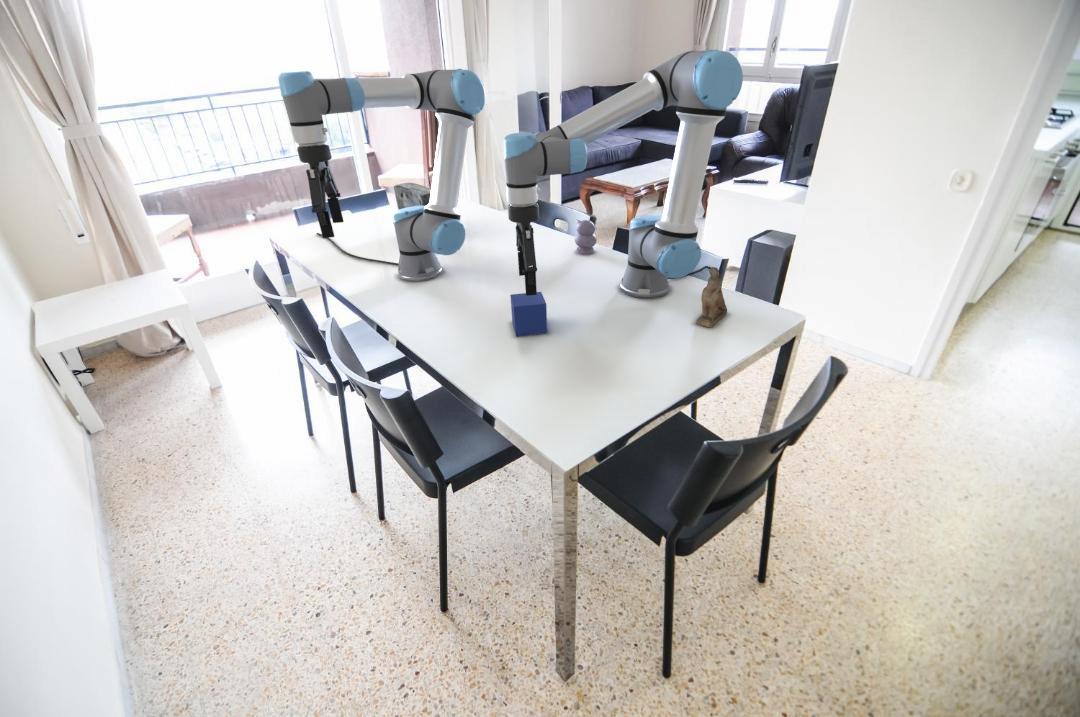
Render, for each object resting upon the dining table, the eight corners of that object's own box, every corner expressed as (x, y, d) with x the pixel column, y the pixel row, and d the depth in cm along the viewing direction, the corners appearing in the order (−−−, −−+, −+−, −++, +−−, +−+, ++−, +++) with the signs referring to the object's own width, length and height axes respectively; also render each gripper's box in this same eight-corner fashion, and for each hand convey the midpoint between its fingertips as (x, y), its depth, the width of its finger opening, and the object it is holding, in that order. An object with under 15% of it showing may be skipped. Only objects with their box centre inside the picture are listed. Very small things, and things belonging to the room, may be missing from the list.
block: (515, 336, 135) (513, 306, 130) (512, 323, 141) (510, 294, 137) (547, 333, 136) (546, 303, 131) (542, 320, 142) (541, 291, 138)
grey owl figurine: (600, 251, 189) (601, 219, 183) (587, 257, 184) (588, 225, 178) (583, 246, 194) (583, 216, 188) (570, 252, 190) (570, 220, 183)
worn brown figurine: (709, 335, 136) (713, 280, 124) (691, 329, 139) (693, 274, 128) (730, 313, 142) (736, 258, 130) (712, 307, 145) (716, 253, 133)
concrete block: (446, 240, 206) (439, 191, 196) (426, 245, 202) (419, 195, 192) (419, 226, 225) (412, 180, 215) (401, 230, 221) (392, 184, 210)
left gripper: (316, 150, 111) (339, 242, 123) (337, 136, 132) (355, 215, 144) (281, 153, 111) (308, 245, 122) (307, 137, 132) (328, 217, 143)
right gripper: (547, 215, 110) (549, 302, 121) (530, 190, 131) (534, 266, 143) (513, 218, 109) (519, 305, 121) (502, 192, 131) (508, 268, 142)
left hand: (333, 229), depth 133 cm, fingers open, 13 cm apart
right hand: (527, 284), depth 132 cm, fingers open, 13 cm apart
